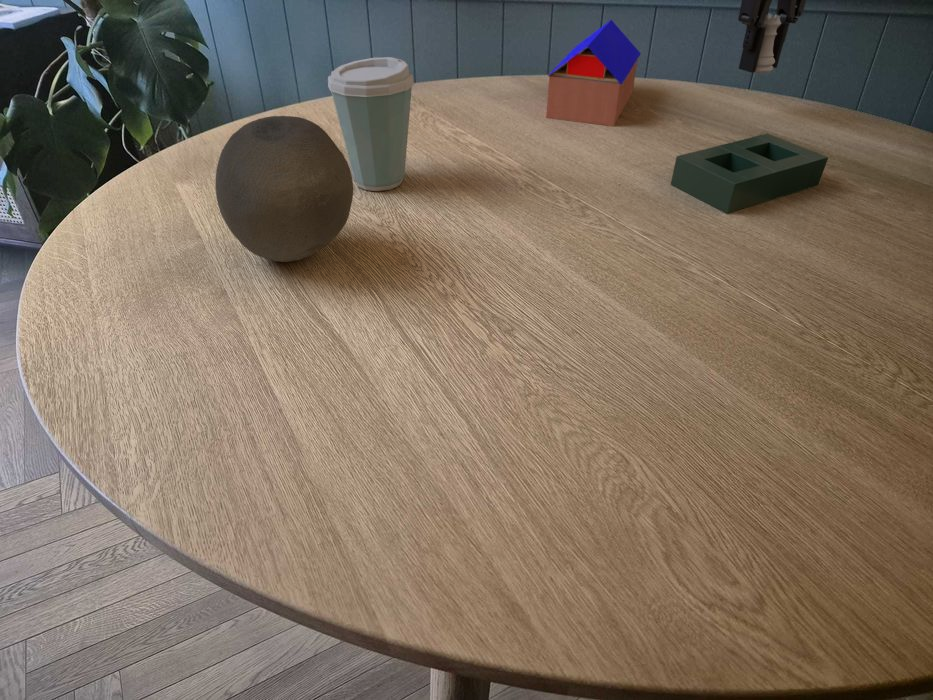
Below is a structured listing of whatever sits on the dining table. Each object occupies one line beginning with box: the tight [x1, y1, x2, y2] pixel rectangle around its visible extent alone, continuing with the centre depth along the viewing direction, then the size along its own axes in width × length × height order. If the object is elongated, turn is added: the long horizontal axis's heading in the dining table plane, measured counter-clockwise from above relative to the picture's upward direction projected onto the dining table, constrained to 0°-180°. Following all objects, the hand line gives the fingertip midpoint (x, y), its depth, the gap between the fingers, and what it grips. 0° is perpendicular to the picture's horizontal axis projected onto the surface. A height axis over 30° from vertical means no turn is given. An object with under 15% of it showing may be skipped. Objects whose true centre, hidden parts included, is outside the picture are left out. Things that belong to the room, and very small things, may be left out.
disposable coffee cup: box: [327, 56, 415, 192], centre depth 85 cm, size 11×11×15 cm
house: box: [545, 19, 641, 127], centre depth 112 cm, size 12×20×12 cm, turn 160°
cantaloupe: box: [215, 115, 354, 263], centre depth 69 cm, size 14×14×15 cm
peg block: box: [670, 132, 829, 214], centre depth 88 cm, size 18×10×4 cm, turn 120°
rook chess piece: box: [753, 13, 781, 74], centre depth 104 cm, size 4×4×8 cm
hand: (757, 67), depth 107 cm, fingers closed on rook chess piece, 4 cm apart
